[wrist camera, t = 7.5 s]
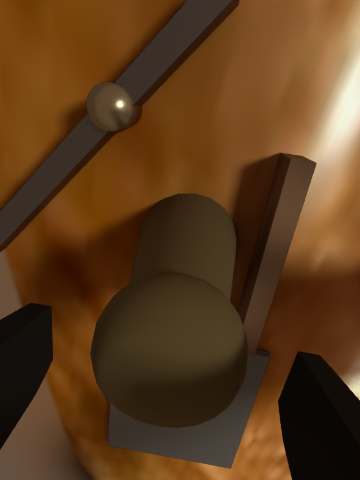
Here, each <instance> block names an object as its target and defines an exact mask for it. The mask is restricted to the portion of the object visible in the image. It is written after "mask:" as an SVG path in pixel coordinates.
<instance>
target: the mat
mask: <svg viewBox="0 0 360 480" xmlns="http://www.w3.org/2000/svg"><path fill="white" fill-rule="evenodd" d="M269 358H270V356H269V352H265V351H260V350H256V353H255V356H251V355H248V359H247V369H246V375H245V380H244V382H243V384H242V386H241V388H240V389H239V391H238V393H237V395H236V397H235V398H234V400H233V401H232V403H231V404H230V405H229V407H227V408H226V409H225V410H224V411H223V412H222V413H220V414H219V415H218V416H217V417H216V418H213V419H211V420H209V421H206V422H204V423H202V424H199V425H195V426H188V427H182V428H171V427H157V426H154V425H150V424H147V423H143V422H140V421H137V420H135V419H133V418H132V417H130V416H128V415H126V414H124V413H122V412H120V411H119V410H118V409H117V408H116V407H115V406H114V405H113V404H111V403H110V417H109V431H108V445H109V446H114V447H119V448H124V449H130V450H135V451H140V452H146V453H151V454H156V455H161V456H167V457H172V458H177V459H183V460H188V461H193V462H198V463H204V464H209V465H214V466H219V467H225V468H230V469H231V467H232V464H233V461H234V458H235V455H236V452H237V449H238V447H239V444H240V441H241V438H242V435H243V432H244V429H245V427H246V424H247V421H248V418H249V415H250V412H251V409H252V407H253V404H254V401H255V398H256V395H257V392H258V390H259V387H260V384H261V381H262V378H263V375H264V372H265V370H266V367H267V364H268V361H269Z"/></svg>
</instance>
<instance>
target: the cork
mask: <svg viewBox="0 0 360 480" xmlns="http://www.w3.org/2000/svg"><path fill="white" fill-rule="evenodd" d="M236 246H237V232H236V229H235V226H234V222H233V220H232V218H231V217H230V216H229V214H228V213H227V211H226V210H225V209H224V208H223V207H222V206H221V205H219V204H218V203H216V202H215V201H214V200H212V199H211V198H207V197H204V196H201V195H198V194H177V195H174V196H171V197H168V198H165V199H163V200H162V201H160V202H159V203H158V204H156V205H155V206H154V207H152V208H151V210H150V211H149V213H148V214H147V216H146V217H145V219H144V221H143V225H142V229H141V233H140V237H139V242H138V246H137V251H136V255H135V260H134V265H133V269H132V274H131V278H130V283H129V285H127V286H126V287H124V288H123V289H121V290H120V291H119V292H118V293H117V294H115V295H114V296H113V298H112V299H111V301H110V302H109V303H108V305H107V306H106V308H105V309H104V310H103V312H102V314H101V315H100V317H99V319H98V321H97V322H96V327H95V331H94V336H93V341H92V346H91V353H90V355H91V360H92V365H93V370H94V375H95V378H96V382H97V385H98V386H99V388H100V389H101V391H102V393H103V394H104V396H105V398H106V399H107V400H108V401H109V402H110V403H111V404H113V405H114V406H115V407H116V408H117V409H118V410H119V411H120V412H122V413H124V414H126V415H128V416H130V417H132V418H133V419H135V420H137V421H140V422H143V423H147V424H150V425H154V426H157V427H171V428H182V427H188V426H195V425H199V424H202V423H204V422H206V421H209V420H211V419H213V418H216V417H217V416H218V415H219V414H220V413H222V412H223V411H224V410H225V409H226V408H227V407H229V405H230V404H231V403H232V401H233V400H234V398H235V397H236V395H237V393H238V391H239V389H240V388H241V386H242V384H243V382H244V380H245V375H246V369H247V359H248V343H247V337H246V333H245V330H244V327H243V324H242V322H241V319H240V316H239V314H238V312H237V311H236V309H235V307H234V306H233V305H232V303H231V302H230V297H231V289H232V281H233V272H234V264H235V256H236Z"/></svg>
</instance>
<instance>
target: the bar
mask: <svg viewBox="0 0 360 480" xmlns="http://www.w3.org/2000/svg"><path fill="white" fill-rule="evenodd" d="M238 4H239V0H188V1H187V2H186V3H185V4H184V5H183V6H182V8H181V9H180V10H179V11H178V12H177V13H176V14H175V15H174V17H173V18H172V19H171V20H170V21H169V22H168V23H167V24H166V26H165V27H164V28H163V29H162V30H161V31H160V32H159V33H158V35H157V36H156V37H155V38H154V39H153V40H152V41H151V42H150V44H149V45H148V46H147V47H146V48H145V49H144V50H143V51H142V53H141V54H140V55H139V56H138V57H137V58H136V59H135V60H134V62H133V63H132V64H131V65H130V66H129V67H128V68H127V69H126V71H125V72H124V73H123V74H122V75H121V76H120V77H119V78H118V80H117V81H116V82H115V83H110V82H103V83H99V84H97V85H96V86H94V87H93V88H92V89H91V91H90V92H89V94H88V97H87V103H86V105H87V112H88V113H87V115H86V116H85V117H84V118H83V119H82V120H81V121H80V122H79V124H78V125H77V126H76V127H75V128H74V129H73V130H72V131H71V133H70V134H69V135H68V136H67V137H66V138H65V139H64V140H63V142H62V143H61V144H60V145H59V146H58V147H57V148H56V149H55V151H54V152H53V153H52V154H51V155H50V156H49V157H48V158H47V160H46V161H45V162H44V163H43V164H42V165H41V166H40V167H39V169H38V170H37V171H36V172H35V173H34V174H33V175H32V177H31V178H30V179H29V180H28V181H27V182H26V183H25V184H24V186H23V187H22V188H21V189H20V190H19V191H18V192H17V193H16V195H15V196H14V197H13V198H12V199H11V200H10V201H9V202H8V204H7V205H6V206H5V207H4V208H3V209H2V210H1V211H0V252H1V251H2V250H4V249H5V248H6V247H7V246H8V245H9V244H10V243H11V242H12V241H13V240H14V239H15V238H16V237H17V236H18V235H19V234H20V233H21V232H22V231H23V230H24V229H25V227H26V226H27V225H28V224H29V223H30V222H31V221H32V220H33V219H34V218H35V217H36V216H37V215H38V214H39V213H40V212H41V211H42V210H43V209H44V208H45V207H46V206H47V205H48V203H49V202H50V201H51V200H52V199H53V198H54V197H55V196H56V195H57V194H58V193H59V192H60V191H61V190H62V189H63V188H64V187H65V186H66V185H67V184H68V183H69V182H70V181H71V179H72V178H73V177H74V176H75V175H76V174H77V173H78V172H79V171H80V170H81V169H82V168H83V167H84V166H85V165H86V164H87V163H88V162H89V161H90V160H91V159H92V158H93V157H94V155H95V154H96V153H97V152H98V151H99V150H100V149H101V148H102V147H103V146H104V145H105V144H106V143H107V142H108V141H109V140H110V139H111V138H112V137H113V136H114V135H115V134H116V133H117V131H118V130H120V129H125V128H130V127H132V126H134V125H135V124H136V123H137V122H138V121H139V119H140V117H141V114H142V105H143V104H144V103H145V102H146V101H147V100H148V99H149V98H150V97H151V96H152V95H153V94H154V93H155V92H156V91H157V90H158V89H159V88H160V87H161V86H162V85H163V83H164V82H165V81H166V80H167V79H168V78H169V77H170V76H171V75H172V74H173V73H174V72H175V71H176V70H177V69H178V68H179V67H180V66H181V65H182V64H183V63H184V62H185V61H186V59H187V58H188V57H189V56H190V55H191V54H192V53H193V52H194V51H195V50H196V49H197V48H198V47H199V46H200V45H201V44H202V43H203V42H204V41H205V40H206V39H207V38H208V37H209V35H210V34H211V33H212V32H213V31H214V30H215V29H216V28H217V27H218V26H219V25H220V24H221V23H222V22H223V21H224V20H225V19H226V18H227V17H228V16H229V15H230V14H231V13H232V11H233V10H234V9H235V8H236V7H237V6H238Z"/></svg>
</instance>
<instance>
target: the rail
mask: <svg viewBox="0 0 360 480" xmlns="http://www.w3.org/2000/svg"><path fill="white" fill-rule="evenodd" d="M316 164H317V163H315V162H313V161H311V160H309V159H307V158H305V157H303V156H298V155H291V154H285V153H280V156H279V160H278V164H277V167H276V171H275V175H274V178H273V182H272V186H271V190H270V193H269V197H268V201H267V204H266V208H265V212H264V215H263V219H262V223H261V227H260V230H259V234H258V238H257V241H256V245H255V249H254V252H253V256H252V260H251V263H250V267H249V271H248V275H247V278H246V282H245V286H244V289H243V293H242V297H241V300H240V304H239V308H238V314H239V316H240V319H241V322H242V324H243V327H244V330H245V333H246V337H247V343H248V355H251V356H255V353H256V350H257V347H258V343H259V340H260V337H261V334H262V331H263V328H264V325H265V322H266V319H267V316H268V312H269V309H270V306H271V303H272V300H273V297H274V294H275V291H276V288H277V285H278V281H279V278H280V275H281V272H282V269H283V266H284V263H285V260H286V257H287V254H288V250H289V247H290V244H291V241H292V238H293V235H294V232H295V229H296V226H297V223H298V219H299V216H300V213H301V210H302V207H303V204H304V201H305V198H306V195H307V191H308V188H309V185H310V182H311V179H312V176H313V173H314V170H315V167H316Z"/></svg>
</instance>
